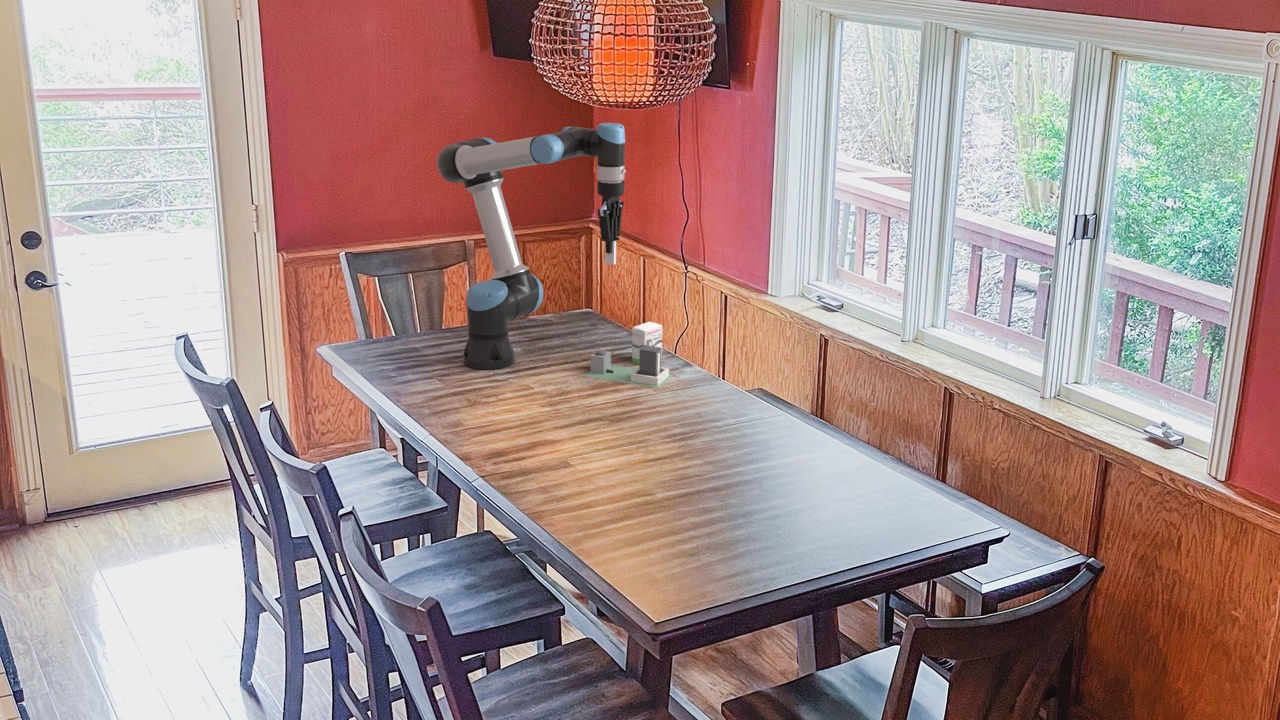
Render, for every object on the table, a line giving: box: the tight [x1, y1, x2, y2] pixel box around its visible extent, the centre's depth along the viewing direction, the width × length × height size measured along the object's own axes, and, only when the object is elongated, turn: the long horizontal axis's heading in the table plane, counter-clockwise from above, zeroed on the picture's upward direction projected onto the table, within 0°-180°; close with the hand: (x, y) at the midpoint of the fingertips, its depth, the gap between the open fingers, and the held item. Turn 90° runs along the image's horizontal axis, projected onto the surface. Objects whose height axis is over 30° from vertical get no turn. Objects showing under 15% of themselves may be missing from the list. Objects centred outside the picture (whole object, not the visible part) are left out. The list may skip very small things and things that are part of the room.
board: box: [583, 364, 674, 389], centre depth 356 cm, size 23×12×1 cm, turn 67°
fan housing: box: [590, 349, 614, 374], centre depth 358 cm, size 6×5×6 cm
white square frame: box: [631, 367, 670, 386], centre depth 353 cm, size 8×9×2 cm
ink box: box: [631, 321, 663, 365], centre depth 367 cm, size 9×5×12 cm, turn 140°
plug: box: [638, 345, 662, 377], centre depth 352 cm, size 5×4×9 cm
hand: (610, 263), depth 351 cm, fingers closed
